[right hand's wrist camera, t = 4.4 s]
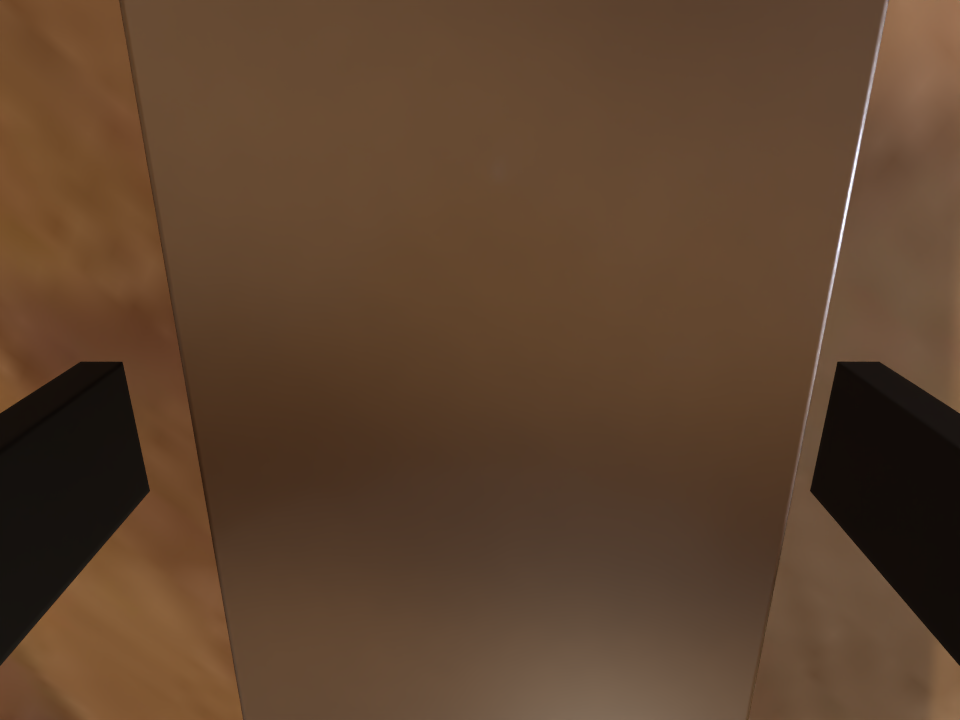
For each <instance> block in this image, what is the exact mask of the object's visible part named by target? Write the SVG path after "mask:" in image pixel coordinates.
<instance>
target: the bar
mask: <svg viewBox="0 0 960 720" xmlns="http://www.w3.org/2000/svg"><path fill="white" fill-rule="evenodd" d="M119 2H120V8H121V14H122V20H123V26H124V31H125V37H126V43H127V49H128V55H129V60H130V66H131V72H132V78H133V83H134V89H135V95H136V101H137V107H138V112H139V118H140V124H141V130H142V136H143V141H144V147H145V153H146V159H147V165H148V170H149V176H150V182H151V188H152V194H153V199H154V205H155V211H156V217H157V222H158V228H159V234H160V240H161V246H162V251H163V257H164V263H165V269H166V275H167V280H168V286H169V292H170V298H171V304H172V309H173V315H174V321H175V327H176V333H177V338H178V344H179V350H180V356H181V362H182V367H183V373H184V379H185V385H186V390H187V396H188V402H189V408H190V414H191V419H192V425H193V431H194V437H195V443H196V448H197V454H198V460H199V466H200V472H201V477H202V483H203V489H204V495H205V501H206V506H207V512H208V518H209V524H210V529H211V535H212V541H213V547H214V553H215V558H216V564H217V570H218V576H219V582H220V587H221V593H222V599H223V605H224V611H225V616H226V622H227V628H228V634H229V640H230V645H231V651H232V657H233V663H234V668H235V674H236V680H237V686H238V692H239V697H240V703H241V709H242V715H243V720H748V718H749V713H750V708H751V703H752V698H753V692H754V687H755V682H756V677H757V672H758V667H759V662H760V657H761V652H762V646H763V641H764V636H765V631H766V626H767V621H768V616H769V611H770V606H771V600H772V595H773V590H774V585H775V580H776V575H777V570H778V565H779V559H780V554H781V549H782V544H783V539H784V534H785V529H786V524H787V519H788V513H789V508H790V503H791V498H792V493H793V488H794V483H795V478H796V473H797V467H798V462H799V457H800V452H801V447H802V442H803V437H804V432H805V427H806V421H807V416H808V411H809V406H810V401H811V396H812V391H813V386H814V381H815V375H816V370H817V365H818V360H819V355H820V350H821V345H822V340H823V335H824V329H825V324H826V319H827V314H828V309H829V304H830V299H831V294H832V289H833V283H834V278H835V273H836V268H837V263H838V258H839V253H840V248H841V243H842V237H843V232H844V227H845V222H846V217H847V212H848V207H849V202H850V197H851V191H852V186H853V181H854V176H855V171H856V166H857V161H858V156H859V151H860V145H861V140H862V135H863V130H864V125H865V120H866V115H867V110H868V105H869V99H870V94H871V89H872V84H873V79H874V74H875V69H876V64H877V59H878V53H879V48H880V43H881V38H882V33H883V28H884V23H885V18H886V12H887V7H888V2H889V0H119Z"/></svg>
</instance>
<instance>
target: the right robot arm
mask: <svg viewBox="0 0 960 720" xmlns="http://www.w3.org/2000/svg"><path fill="white" fill-rule="evenodd" d="M149 491H150V489H149V485H148V480H147V475H146V471H145V466H144V461H143V456H142V452H141V447H140V442H139V438H138V433H137V428H136V423H135V419H134V414H133V409H132V405H131V400H130V395H129V390H128V386H127V381H126V376H125V372H124V367H123V362H80V363H78V364H76V365H75V366H73V367H72V368H70V369H69V370H67V371H66V372H64V373H62V374H61V375H59V376H58V377H56V378H55V379H53V380H52V381H50V382H48V383H47V384H45V385H44V386H42V387H41V388H39V389H38V390H36V391H34V392H33V393H31V394H30V395H28V396H27V397H25V398H24V399H22V400H20V401H19V402H17V403H16V404H14V405H13V406H11V407H10V408H8V409H6V410H5V411H3V412H2V413H0V665H1V664H2V663H3V662H4V661H5V660H6V658H7V657H8V656H9V655H10V654H11V653H12V651H13V650H14V649H15V648H16V647H17V646H18V644H19V643H20V642H21V641H22V640H23V639H24V637H25V636H26V635H27V634H28V633H29V632H30V630H31V629H32V628H33V627H34V626H35V625H36V623H37V622H38V621H39V620H40V619H41V618H42V616H43V615H44V614H45V613H46V612H47V611H48V609H49V608H50V607H51V606H52V605H53V604H54V602H55V601H56V600H57V599H58V598H59V597H60V595H61V594H62V593H63V592H64V591H65V590H66V588H67V587H68V586H69V585H70V584H71V582H72V581H73V580H74V579H75V578H76V577H77V575H78V574H79V573H80V572H81V571H82V570H83V568H84V567H85V566H86V565H87V564H88V563H89V561H90V560H91V559H92V558H93V557H94V556H95V554H96V553H97V552H98V551H99V550H100V549H101V547H102V546H103V545H104V544H105V543H106V542H107V540H108V539H109V538H110V537H111V536H112V535H113V533H114V532H115V531H116V530H117V529H118V528H119V526H120V525H121V524H122V523H123V522H124V521H125V519H126V518H127V517H128V516H129V515H130V514H131V512H132V511H133V510H134V509H135V508H136V507H137V505H138V504H139V503H140V502H141V501H142V500H143V498H144V497H145V496H146V495H147V494H148V493H149ZM810 491H811V493H812V494H813V495H814V496H815V497H816V498H817V500H818V501H819V502H820V503H821V504H822V505H823V507H824V508H825V509H826V510H827V511H828V512H829V514H830V515H831V516H832V517H833V518H834V519H835V521H836V522H837V523H838V524H839V525H840V526H841V528H842V529H843V530H844V531H845V532H846V533H847V535H848V536H849V537H850V538H851V539H852V540H853V542H854V543H855V544H856V545H857V546H858V547H859V549H860V550H861V551H862V552H863V553H864V554H865V556H866V557H867V558H868V559H869V560H870V561H871V563H872V564H873V565H874V566H875V567H876V568H877V570H878V571H879V572H880V573H881V574H882V575H883V577H884V578H885V579H886V580H887V581H888V582H889V584H890V585H891V586H892V587H893V588H894V590H895V591H896V592H897V593H898V594H899V595H900V597H901V598H902V599H903V600H904V601H905V602H906V604H907V605H908V606H909V607H910V608H911V609H912V611H913V612H914V613H915V614H916V615H917V616H918V618H919V619H920V620H921V621H922V622H923V623H924V625H925V626H926V627H927V628H928V629H929V630H930V632H931V633H932V634H933V635H934V636H935V637H936V639H937V640H938V641H939V642H940V643H941V644H942V646H943V647H944V648H945V649H946V650H947V651H948V653H949V654H950V655H951V656H952V657H953V658H954V660H955V661H956V662H957V663H958V664H959V665H960V413H958V412H957V411H955V410H954V409H952V408H950V407H949V406H947V405H946V404H944V403H943V402H941V401H940V400H938V399H936V398H935V397H933V396H932V395H930V394H929V393H927V392H926V391H924V390H922V389H921V388H919V387H918V386H916V385H915V384H913V383H912V382H910V381H908V380H907V379H905V378H904V377H902V376H901V375H899V374H898V373H896V372H894V371H893V370H891V369H890V368H888V367H887V366H885V365H884V364H882V363H880V362H837V367H836V372H835V376H834V381H833V386H832V390H831V395H830V400H829V405H828V409H827V414H826V419H825V423H824V428H823V433H822V438H821V442H820V447H819V452H818V456H817V461H816V466H815V471H814V475H813V480H812V485H811V489H810Z"/></svg>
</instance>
